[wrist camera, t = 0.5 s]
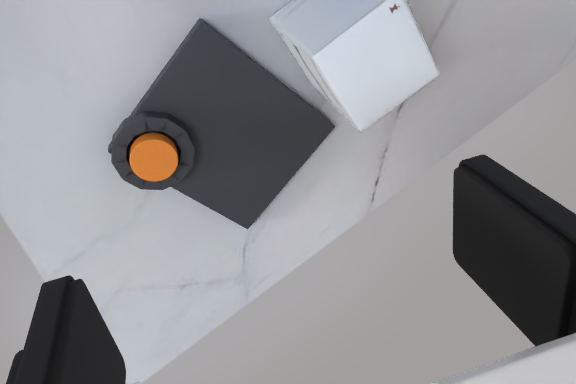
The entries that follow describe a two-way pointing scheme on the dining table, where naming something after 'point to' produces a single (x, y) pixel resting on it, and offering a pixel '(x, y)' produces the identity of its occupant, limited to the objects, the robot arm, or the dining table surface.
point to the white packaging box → (358, 53)
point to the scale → (222, 127)
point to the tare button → (153, 157)
